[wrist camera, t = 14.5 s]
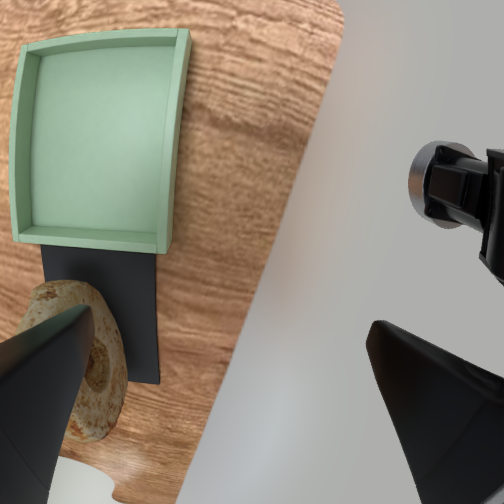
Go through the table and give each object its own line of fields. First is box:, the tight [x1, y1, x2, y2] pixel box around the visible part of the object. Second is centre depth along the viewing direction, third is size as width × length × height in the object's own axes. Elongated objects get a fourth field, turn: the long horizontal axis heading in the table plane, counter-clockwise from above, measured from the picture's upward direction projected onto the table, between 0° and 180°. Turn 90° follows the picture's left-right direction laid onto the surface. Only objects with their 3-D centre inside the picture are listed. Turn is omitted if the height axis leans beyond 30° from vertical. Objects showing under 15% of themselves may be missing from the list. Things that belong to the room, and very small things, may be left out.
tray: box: [9, 28, 192, 254], centre depth 16 cm, size 11×13×2 cm
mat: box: [40, 244, 160, 385], centre depth 22 cm, size 9×12×1 cm
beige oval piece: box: [16, 280, 128, 442], centre depth 17 cm, size 10×4×10 cm, turn 9°
